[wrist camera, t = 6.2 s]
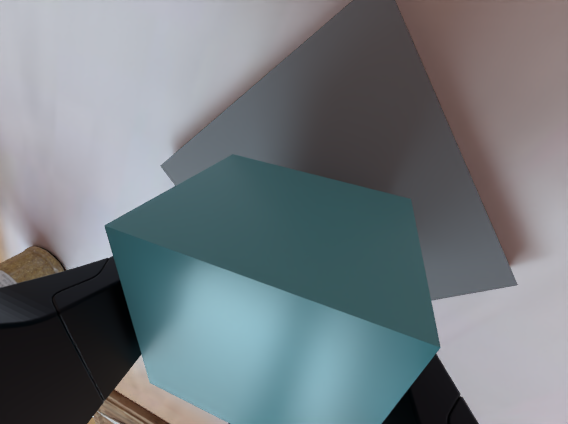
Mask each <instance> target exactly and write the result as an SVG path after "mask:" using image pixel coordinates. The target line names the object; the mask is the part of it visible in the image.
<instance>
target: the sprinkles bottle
mask: <svg viewBox="0 0 568 424" xmlns="http://www.w3.org/2000/svg"><path fill="white" fill-rule="evenodd" d="M62 271H64V269H63V268H62V266H61V264H60V263H59V261H58V260H57V259H56V258H55V257H53V256H52V255H51V254H50V253H49V252H48V251H46V250H44V249H41V248H40V247H35V246H32V247H29V248H27V249H25V251H23V252H22V253H20V254H18V255H16V256H14V257H12V258H10V259H8V260H6V261H4V262H2V263H0V287H5V286H9V285H12V284H16V283H20V282H24V281H28V280H32V279H36V278H39V277H43V276H47V275H51V274H55V273H58V272H62Z"/></svg>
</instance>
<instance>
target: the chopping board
mask: <svg viewBox="0 0 568 424" xmlns="http://www.w3.org/2000/svg"><path fill="white" fill-rule="evenodd" d="M93 418H94V420H95V423H96V424H168V423H166V422H164V421H163V420H161V419H160V418H158V417H156V416H155V415H153V414H151V413H150V412H148V411H146V410H145V409H143V408H142V407H140V406H138V405H137V404H135V403H133V402H132V401H130V400H129V399H127V398H125V397H124V396H122V395H120V394H119V393H117V392H115V391H114V390H113V391H112V392H111V394H110V395H109V396H108V398H107V399H106V400H105V401H104V403H103V404H102V405H101V407H100V408H99V409H98V411H97V412H96V413H95V414H94V416H93Z"/></svg>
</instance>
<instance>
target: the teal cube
mask: <svg viewBox="0 0 568 424" xmlns="http://www.w3.org/2000/svg"><path fill="white" fill-rule="evenodd" d="M105 229H106V233H107V236H108V240H109V243H110V246H111V250H112V253H113V257H114V260H115V264H116V267H117V271H118V274H119V278H120V281H121V285H122V288H123V291H124V295H125V298H126V302H127V305H128V309H129V312H130V316H131V319H132V323H133V326H134V330H135V333H136V337H137V340H138V343H139V347H140V350H141V354H142V357H143V361H144V364H145V368H146V371H147V375H148V378H149V382H150V383H151V384H153V385H155V386H157V387H159V388H161V389H163V390H165V391H167V392H169V393H171V394H173V395H175V396H177V397H179V398H181V399H183V400H185V401H187V402H189V403H191V404H193V405H195V406H196V407H198V408H200V409H202V410H204V411H206V412H208V413H210V414H212V415H214V416H216V417H218V418H220V419H222V420H224V421H226V422H228V423H230V424H382V423H383V421H384V420H385V419H386V417H387V416H388V415H389V413H390V412H391V411H392V410H393V408H394V407H395V406H396V404H397V403H398V402H399V401H400V399H401V398H402V397H403V395H404V394H405V393H406V391H407V390H408V389H409V388H410V386H411V385H412V384H413V382H414V381H415V380H416V379H417V377H418V376H419V375H420V373H421V372H422V371H423V370H424V368H425V367H426V366H427V364H428V363H429V362H430V360H431V359H432V358H433V357H434V355H435V354H436V353H437V351H438V350H439V349H440V343H439V338H438V333H437V328H436V323H435V318H434V312H433V307H432V302H431V297H430V292H429V287H428V282H427V277H426V272H425V267H424V262H423V257H422V252H421V247H420V242H419V237H418V232H417V227H416V222H415V217H414V211H413V206H412V201H411V199H409V198H405V197H401V196H397V195H393V194H389V193H385V192H381V191H377V190H373V189H369V188H365V187H362V186H358V185H354V184H350V183H346V182H342V181H338V180H334V179H330V178H326V177H322V176H318V175H314V174H310V173H306V172H302V171H298V170H294V169H290V168H286V167H282V166H278V165H274V164H270V163H266V162H262V161H258V160H254V159H250V158H246V157H242V156H238V155H234V154H232V155H230V156H229V157H227V158H225V159H223V160H221V161H220V162H218V163H216V164H214V165H212V166H211V167H209V168H207V169H205V170H203V171H202V172H200V173H198V174H196V175H194V176H193V177H191V178H189V179H187V180H186V181H184V182H182V183H180V184H178V185H177V186H175V187H173V188H171V189H169V190H168V191H166V192H164V193H162V194H160V195H159V196H157V197H155V198H153V199H151V200H150V201H148V202H146V203H144V204H142V205H141V206H139V207H137V208H135V209H133V210H132V211H130V212H128V213H126V214H124V215H123V216H121V217H119V218H117V219H115V220H114V221H112V222H110V223H108V224H106V225H105Z"/></svg>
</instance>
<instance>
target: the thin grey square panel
mask: <svg viewBox="0 0 568 424" xmlns="http://www.w3.org/2000/svg"><path fill="white" fill-rule="evenodd" d="M232 154H234V155H238V156H242V157H246V158H250V159H254V160H258V161H262V162H266V163H270V164H274V165H278V166H282V167H286V168H290V169H294V170H298V171H302V172H306V173H310V174H314V175H318V176H322V177H326V178H330V179H334V180H338V181H342V182H346V183H350V184H354V185H358V186H362V187H365V188H369V189H373V190H377V191H381V192H385V193H389V194H393V195H397V196H401V197H405V198H409V199H411V201H412V206H413V211H414V217H415V222H416V227H417V232H418V237H419V242H420V247H421V252H422V257H423V262H424V267H425V272H426V277H427V282H428V287H429V292H430V297H431V300H436V299H442V298H448V297H453V296H459V295H465V294H470V293H476V292H482V291H487V290H493V289H499V288H504V287H510V286H516V285H518V284H517V282H516V280H515V278H514V275H513V273H512V271H511V268H510V266H509V264H508V261H507V259H506V257H505V254H504V252H503V250H502V247H501V245H500V243H499V240H498V238H497V236H496V233H495V231H494V229H493V227H492V224H491V222H490V220H489V217H488V215H487V213H486V210H485V208H484V206H483V203H482V201H481V199H480V196H479V194H478V192H477V189H476V187H475V185H474V182H473V180H472V178H471V176H470V173H469V171H468V169H467V166H466V164H465V162H464V159H463V157H462V155H461V152H460V150H459V148H458V145H457V143H456V141H455V138H454V136H453V134H452V131H451V129H450V127H449V125H448V122H447V120H446V118H445V115H444V113H443V111H442V108H441V106H440V104H439V101H438V99H437V97H436V94H435V92H434V90H433V87H432V85H431V83H430V80H429V78H428V76H427V74H426V71H425V69H424V67H423V64H422V62H421V60H420V57H419V55H418V53H417V50H416V48H415V46H414V43H413V41H412V39H411V36H410V34H409V32H408V29H407V27H406V25H405V23H404V20H403V18H402V16H401V13H400V11H399V9H398V6H397V4H396V2H395V0H353V1H352V2H351V3H349V4H348V5H347V6H346V7H345V8H344V9H342V10H341V11H340V12H339V13H338V14H337V15H335V16H334V17H333V18H332V19H331V20H330V21H328V22H327V23H326V24H325V25H324V26H323V27H321V28H320V29H319V30H318V31H317V32H316V33H314V34H313V35H312V36H311V37H310V38H309V39H307V40H306V41H305V42H304V43H303V44H302V45H300V46H299V47H298V48H297V49H296V50H295V51H294V52H292V53H291V54H290V55H289V56H288V57H287V58H285V59H284V60H283V61H282V62H281V63H280V64H278V65H277V66H276V67H275V68H274V69H273V70H271V71H270V72H269V73H268V74H267V75H266V76H264V77H263V78H262V79H261V80H260V81H259V82H257V83H256V84H255V85H254V86H253V87H252V88H250V89H249V90H248V91H247V92H246V93H245V94H243V95H242V96H241V97H240V98H239V99H238V100H236V101H235V102H234V103H233V104H232V105H231V106H229V107H228V108H227V109H226V110H225V111H224V112H223V113H221V114H220V115H219V116H218V117H217V118H216V119H214V120H213V121H212V122H211V123H210V124H209V125H207V126H206V127H205V128H204V129H203V130H202V131H200V132H199V133H198V134H197V135H196V136H195V137H193V138H192V139H191V140H190V141H189V142H188V143H186V144H185V145H184V146H183V147H182V148H181V149H179V150H178V151H177V152H176V153H175V154H174V155H172V156H171V157H170V158H169V159H168V160H167V161H165V162H164V163H163V164H162V165H161V167H162V169H163V170H164V171H165V172H166V174H167V175H168V176H169V178H170V179H171V180H172V182H173V183H174V184H175V186H177V185H178V184H180V183H182V182H184V181H186V180H187V179H189V178H191V177H193V176H194V175H196V174H198V173H200V172H202V171H203V170H205V169H207V168H209V167H211V166H212V165H214V164H216V163H218V162H220V161H221V160H223V159H225V158H227V157H229V156H230V155H232Z"/></svg>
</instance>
